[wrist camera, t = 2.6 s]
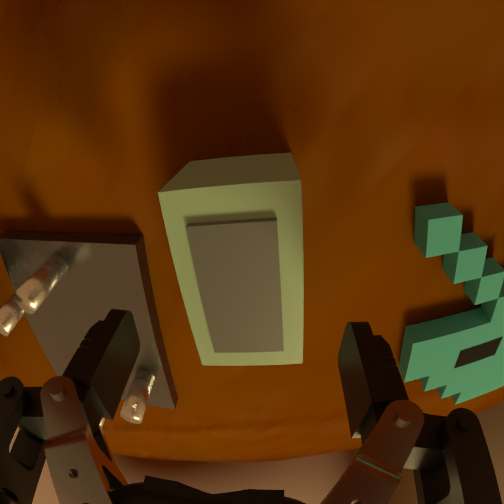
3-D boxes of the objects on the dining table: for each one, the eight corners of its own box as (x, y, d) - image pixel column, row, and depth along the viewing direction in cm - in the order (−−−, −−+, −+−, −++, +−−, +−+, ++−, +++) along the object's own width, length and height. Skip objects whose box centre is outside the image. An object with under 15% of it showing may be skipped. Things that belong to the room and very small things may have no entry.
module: (190, 160, 15) (154, 195, 10) (291, 151, 15) (302, 182, 10) (216, 304, 19) (201, 369, 15) (297, 301, 19) (302, 368, 14)
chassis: (5, 231, 17) (-39, 268, 13) (143, 234, 17) (103, 288, 12) (67, 375, 25) (47, 414, 21) (178, 398, 25) (165, 448, 20)
